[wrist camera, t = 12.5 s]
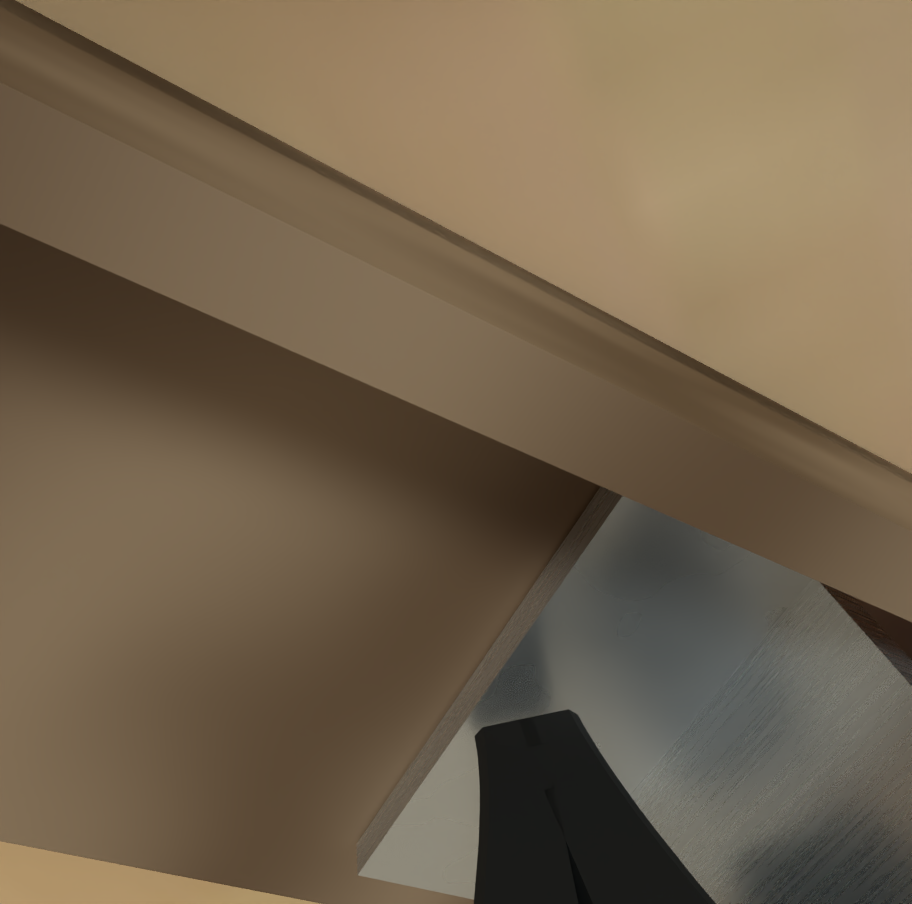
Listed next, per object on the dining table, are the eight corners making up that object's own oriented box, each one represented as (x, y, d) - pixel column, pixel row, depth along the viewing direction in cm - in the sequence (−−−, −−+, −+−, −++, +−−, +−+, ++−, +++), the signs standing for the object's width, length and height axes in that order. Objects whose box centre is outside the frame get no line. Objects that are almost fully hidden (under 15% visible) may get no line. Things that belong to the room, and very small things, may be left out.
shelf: (1187, 620, 14) (1484, 825, 10) (814, 963, 17) (939, 1202, 14) (-750, -404, 6) (-2531, -1114, 2) (-707, 637, 9) (-1348, 1018, 6)
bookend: (827, 568, 11) (1168, 938, 6) (554, 888, 13) (668, 1315, 9) (611, 471, 10) (850, 847, 5) (356, 844, 12) (373, 1311, 8)
